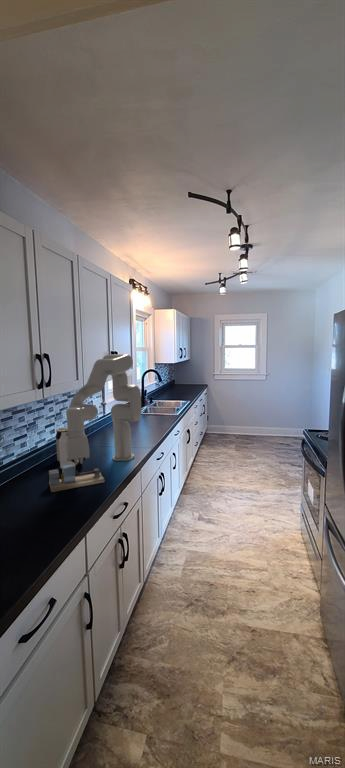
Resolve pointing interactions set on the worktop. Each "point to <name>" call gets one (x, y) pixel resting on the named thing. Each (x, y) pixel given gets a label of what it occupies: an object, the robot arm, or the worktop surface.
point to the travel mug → (58, 439)
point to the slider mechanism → (81, 480)
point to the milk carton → (63, 450)
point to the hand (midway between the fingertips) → (79, 471)
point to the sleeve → (68, 473)
